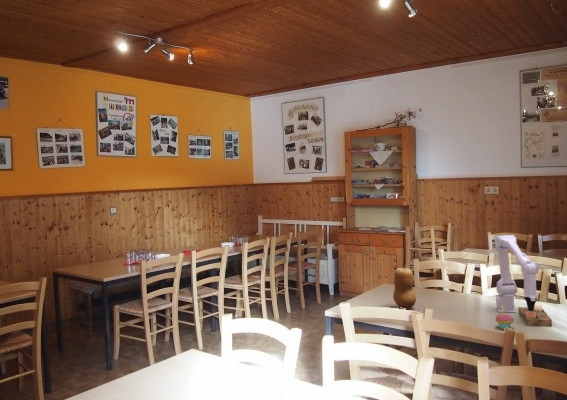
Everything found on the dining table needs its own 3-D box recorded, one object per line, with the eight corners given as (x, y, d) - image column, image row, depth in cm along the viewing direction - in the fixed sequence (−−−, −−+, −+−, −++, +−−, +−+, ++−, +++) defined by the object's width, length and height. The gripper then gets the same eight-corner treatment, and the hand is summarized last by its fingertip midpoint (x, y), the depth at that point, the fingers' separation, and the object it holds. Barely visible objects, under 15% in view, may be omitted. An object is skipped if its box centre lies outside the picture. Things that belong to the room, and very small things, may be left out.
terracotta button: (527, 322, 249) (526, 313, 249) (525, 320, 254) (525, 311, 254) (537, 323, 248) (536, 313, 248) (535, 320, 252) (534, 311, 252)
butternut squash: (420, 309, 285) (419, 268, 284) (402, 313, 280) (400, 271, 278) (406, 304, 298) (404, 265, 296) (388, 307, 293) (387, 268, 291)
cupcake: (492, 326, 249) (491, 303, 248) (507, 324, 249) (507, 302, 249) (501, 331, 240) (500, 308, 239) (517, 329, 241) (516, 306, 240)
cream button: (533, 314, 257) (533, 305, 257) (531, 311, 262) (531, 302, 262) (543, 314, 256) (542, 305, 256) (541, 311, 260) (541, 303, 260)
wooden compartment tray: (526, 325, 246) (526, 319, 246) (518, 313, 267) (518, 307, 267) (551, 326, 243) (551, 319, 242) (542, 313, 264) (541, 307, 263)
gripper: (541, 289, 242) (542, 315, 242) (535, 282, 256) (536, 307, 256) (526, 289, 244) (527, 314, 245) (521, 282, 258) (521, 306, 258)
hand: (530, 310), depth 251 cm, fingers closed
